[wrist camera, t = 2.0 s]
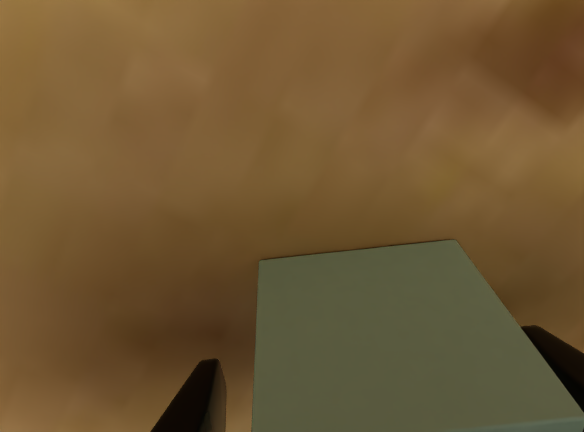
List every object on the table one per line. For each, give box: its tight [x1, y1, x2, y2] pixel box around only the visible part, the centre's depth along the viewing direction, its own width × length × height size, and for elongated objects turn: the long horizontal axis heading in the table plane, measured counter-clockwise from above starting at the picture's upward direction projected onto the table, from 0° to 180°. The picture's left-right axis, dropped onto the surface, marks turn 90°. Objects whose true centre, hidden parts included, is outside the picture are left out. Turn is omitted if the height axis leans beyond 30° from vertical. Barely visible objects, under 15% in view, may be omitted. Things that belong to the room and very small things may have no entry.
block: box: [251, 239, 584, 432], centre depth 8 cm, size 4×4×4 cm
